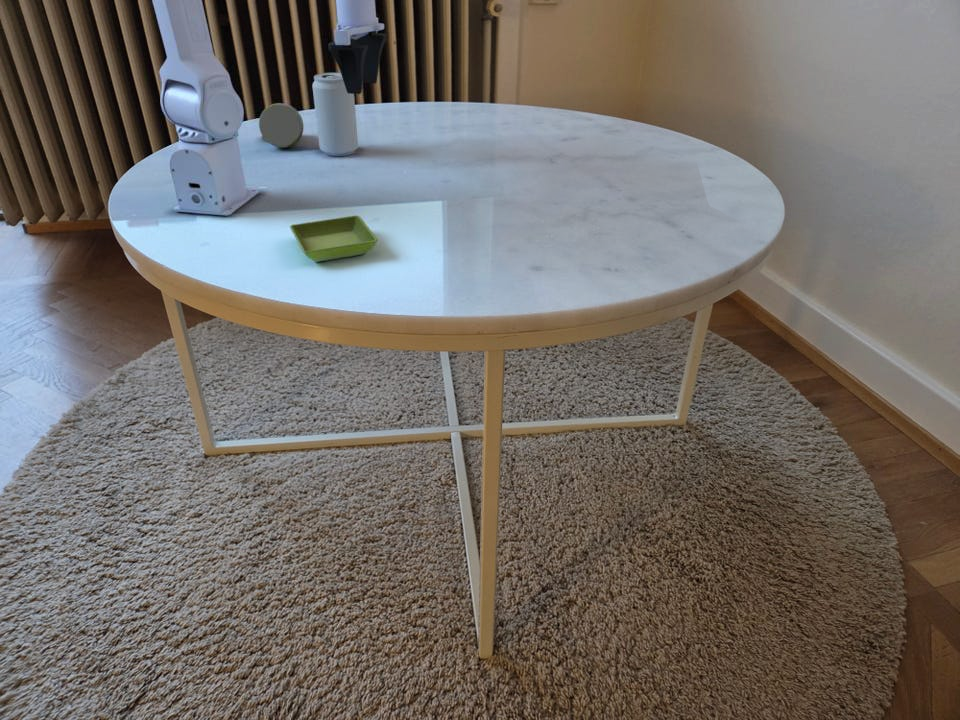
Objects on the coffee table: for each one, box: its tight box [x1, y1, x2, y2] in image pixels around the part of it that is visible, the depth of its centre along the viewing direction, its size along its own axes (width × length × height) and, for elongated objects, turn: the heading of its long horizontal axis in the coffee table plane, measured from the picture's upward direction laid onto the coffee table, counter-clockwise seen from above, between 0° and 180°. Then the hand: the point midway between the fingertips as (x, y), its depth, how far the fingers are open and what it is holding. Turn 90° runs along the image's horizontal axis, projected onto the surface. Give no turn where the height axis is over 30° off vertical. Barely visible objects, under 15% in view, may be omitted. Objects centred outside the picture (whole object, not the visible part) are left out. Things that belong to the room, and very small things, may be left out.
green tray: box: [289, 215, 378, 263], centre depth 81 cm, size 9×9×2 cm
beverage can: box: [311, 72, 359, 157], centre depth 110 cm, size 6×6×12 cm
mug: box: [258, 102, 304, 149], centre depth 115 cm, size 8×10×10 cm
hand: (362, 87), depth 107 cm, fingers open, 7 cm apart
